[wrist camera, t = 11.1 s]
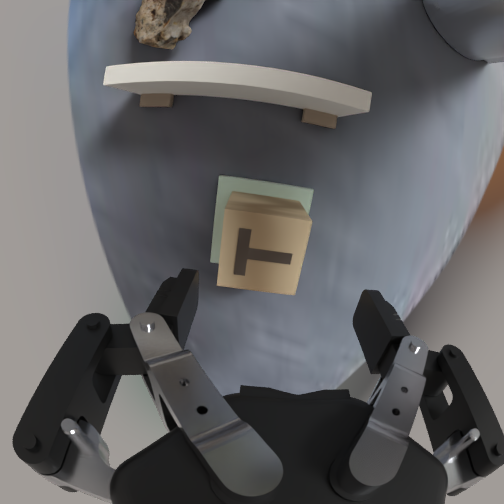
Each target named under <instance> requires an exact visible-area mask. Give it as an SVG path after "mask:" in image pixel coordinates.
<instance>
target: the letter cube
mask: <svg viewBox="0 0 504 504" xmlns="http://www.w3.org/2000/svg"><path fill="white" fill-rule="evenodd" d="M311 225H312V220H311V218H310V217H309V215H308V214H307V212H306V210H305V209H304V207H303V206H302V204H301V203H300V201H297V200H291V199H284V198H278V197H271V196H265V195H258V194H251V193H243V192H236V191H232V193H231V195H230V197H229V200H228V202H227V205H226V207H225V211H224V220H223V229H222V238H221V248H220V258H219V268H218V279H217V286H224V287H231V288H239V289H246V290H254V291H262V292H271V293H279V294H288V295H295V292H296V288H297V284H298V280H299V276H300V272H301V268H302V264H303V260H304V256H305V252H306V247H307V243H308V239H309V234H310V230H311Z"/></svg>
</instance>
